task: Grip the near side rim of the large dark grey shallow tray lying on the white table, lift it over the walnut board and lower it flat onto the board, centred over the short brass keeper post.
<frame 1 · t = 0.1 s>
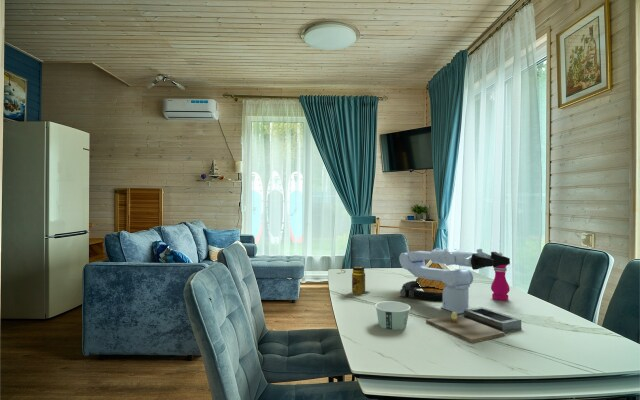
hand: (501, 262, 124), 22 cm above the table, tool horizontal, fingers open, 7 cm apart
grey shallow tray: (491, 323, 127), on the table
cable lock: (430, 294, 168), on the table
pepper mill: (500, 299, 158), on the table
condiment: (359, 293, 169), on the table
food container: (392, 325, 125), on the table
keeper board: (463, 328, 121), on the table
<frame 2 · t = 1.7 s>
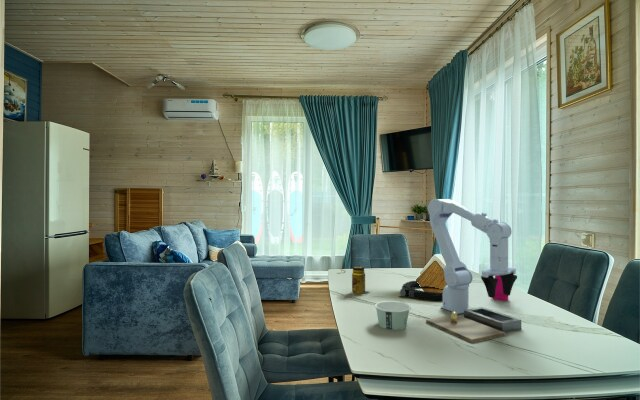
hand: (499, 296, 128), 9 cm above the table, tool pointing down, fingers open, 7 cm apart
nothing on the table moved.
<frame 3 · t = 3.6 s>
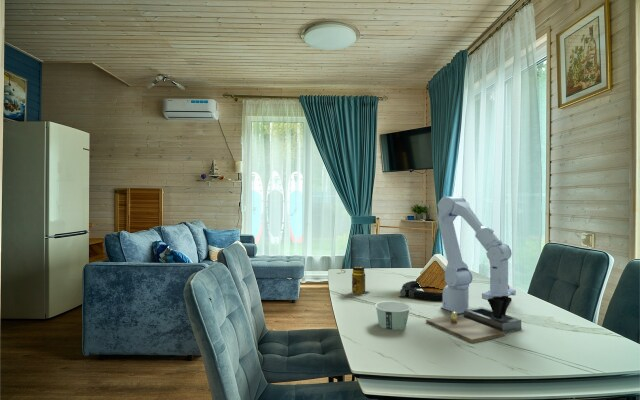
hand: (499, 317, 128), 1 cm above the table, tool pointing down, fingers closed on grey shallow tray
grey shallow tray: (491, 323, 127), on the table, touching gripper
everything else where it was.
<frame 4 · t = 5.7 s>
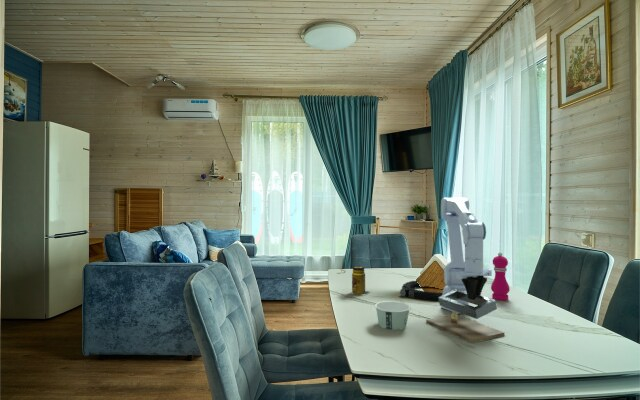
hand: (473, 298, 123), 9 cm above the table, tool pointing down, fingers closed on grey shallow tray
grey shallow tray: (467, 307, 122), point 7 cm above the table, tilted 13°, touching gripper
everything else where it was.
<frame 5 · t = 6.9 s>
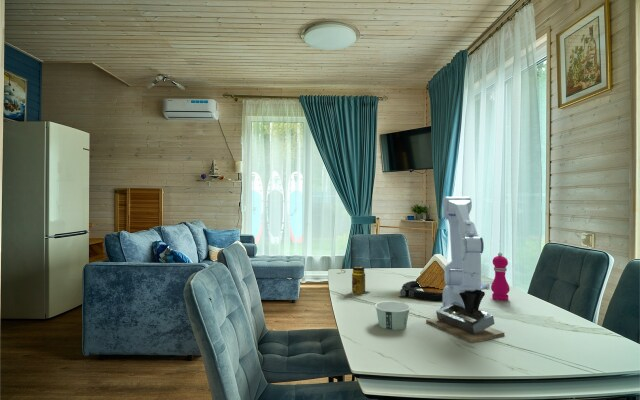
hand: (471, 312, 123), 5 cm above the table, tool pointing down, fingers closed on grey shallow tray
grey shallow tray: (464, 321, 122), point 2 cm above the table, tilted 14°, touching gripper
everything else where it was.
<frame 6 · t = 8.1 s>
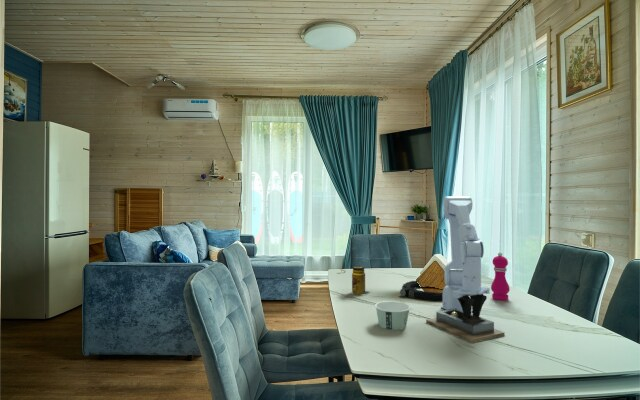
hand: (471, 316, 123), 3 cm above the table, tool pointing down, fingers open, 3 cm apart
grey shallow tray: (463, 325, 122), point 1 cm above the table, touching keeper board
everything else where it was.
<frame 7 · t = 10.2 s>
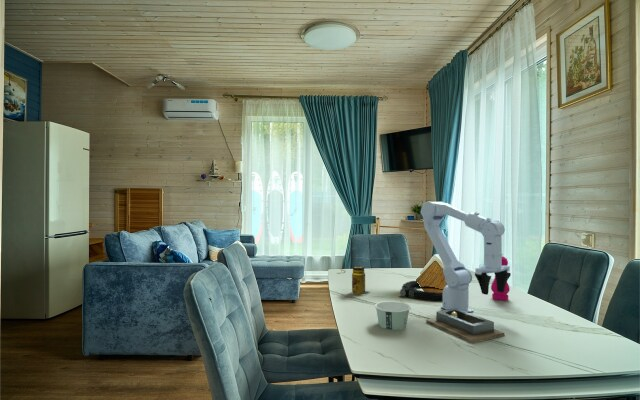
hand: (492, 292, 131), 9 cm above the table, tool pointing down, fingers open, 7 cm apart
nothing on the table moved.
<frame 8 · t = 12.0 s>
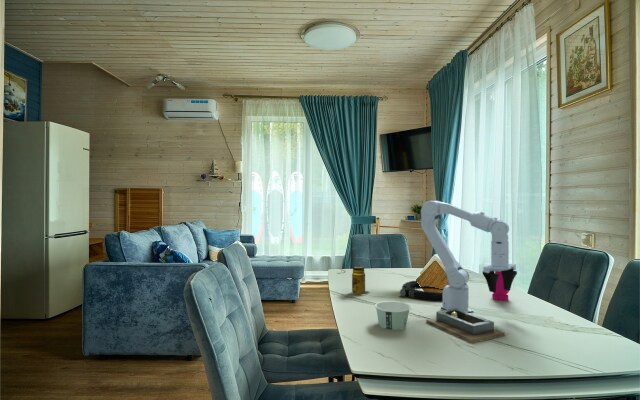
hand: (499, 290, 134), 9 cm above the table, tool pointing down, fingers open, 7 cm apart
nothing on the table moved.
at the end: grey shallow tray 0.2 cm off-centre on the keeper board, point 1.0 cm above the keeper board's base; grey shallow tray tilted 0°; the gripper is holding nothing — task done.
